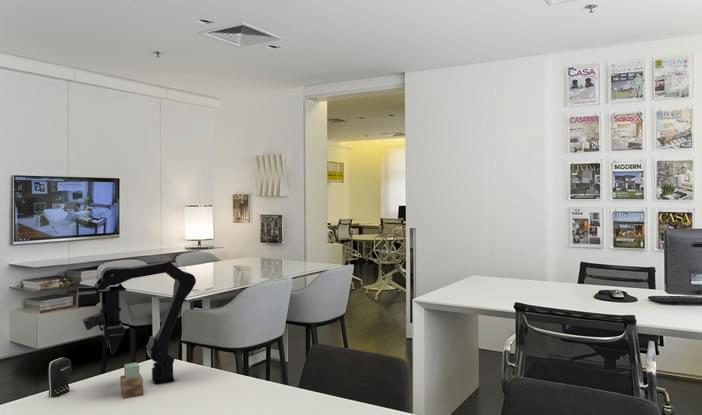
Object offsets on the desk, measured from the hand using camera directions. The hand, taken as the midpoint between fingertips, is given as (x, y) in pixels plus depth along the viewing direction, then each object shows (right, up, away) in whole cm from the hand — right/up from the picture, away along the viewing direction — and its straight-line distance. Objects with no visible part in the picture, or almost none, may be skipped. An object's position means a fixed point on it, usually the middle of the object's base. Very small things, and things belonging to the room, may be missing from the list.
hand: (111, 351), depth 181 cm
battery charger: (-16, -14, -3) cm, 21 cm away
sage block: (+9, -8, -4) cm, 12 cm away
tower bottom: (+9, -14, -4) cm, 17 cm away
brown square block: (+8, -11, -4) cm, 14 cm away
